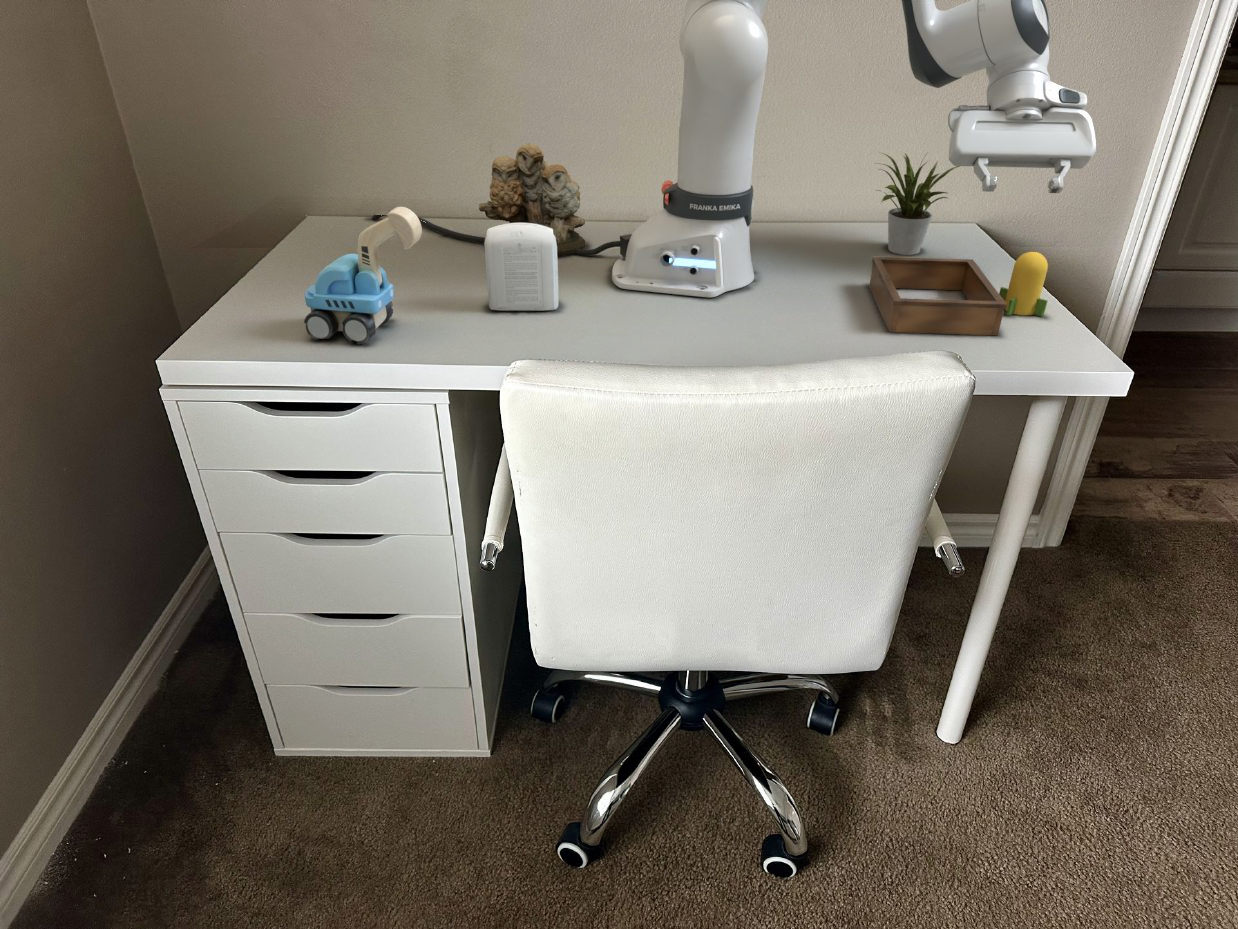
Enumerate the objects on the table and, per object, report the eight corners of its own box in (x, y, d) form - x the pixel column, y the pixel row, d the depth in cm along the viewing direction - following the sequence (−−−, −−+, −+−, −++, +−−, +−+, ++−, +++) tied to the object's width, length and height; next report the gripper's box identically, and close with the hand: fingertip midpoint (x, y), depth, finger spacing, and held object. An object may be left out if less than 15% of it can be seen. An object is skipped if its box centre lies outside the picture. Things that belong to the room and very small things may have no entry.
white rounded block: (559, 301, 130) (556, 218, 124) (559, 312, 127) (555, 227, 120) (490, 302, 130) (483, 219, 123) (487, 313, 126) (480, 228, 120)
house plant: (837, 247, 151) (850, 149, 142) (882, 230, 159) (897, 136, 150) (909, 268, 142) (928, 165, 133) (954, 249, 150) (975, 150, 141)
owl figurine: (476, 257, 147) (467, 152, 137) (488, 235, 156) (479, 135, 147) (583, 259, 146) (581, 153, 137) (588, 236, 156) (586, 136, 147)
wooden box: (888, 332, 120) (893, 301, 118) (867, 285, 136) (872, 256, 133) (999, 336, 119) (1007, 304, 117) (966, 288, 134) (972, 259, 132)
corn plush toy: (1006, 315, 125) (1021, 258, 121) (996, 302, 130) (1010, 246, 125) (1043, 317, 125) (1059, 259, 120) (1032, 303, 129) (1047, 247, 125)
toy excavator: (418, 349, 116) (400, 221, 107) (301, 340, 118) (274, 214, 109) (440, 324, 123) (426, 201, 114) (329, 316, 125) (306, 195, 116)
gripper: (954, 92, 129) (956, 177, 126) (1098, 94, 127) (1104, 180, 124) (941, 118, 135) (943, 199, 132) (1078, 120, 133) (1083, 203, 130)
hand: (1022, 190), depth 128 cm, fingers open, 8 cm apart
